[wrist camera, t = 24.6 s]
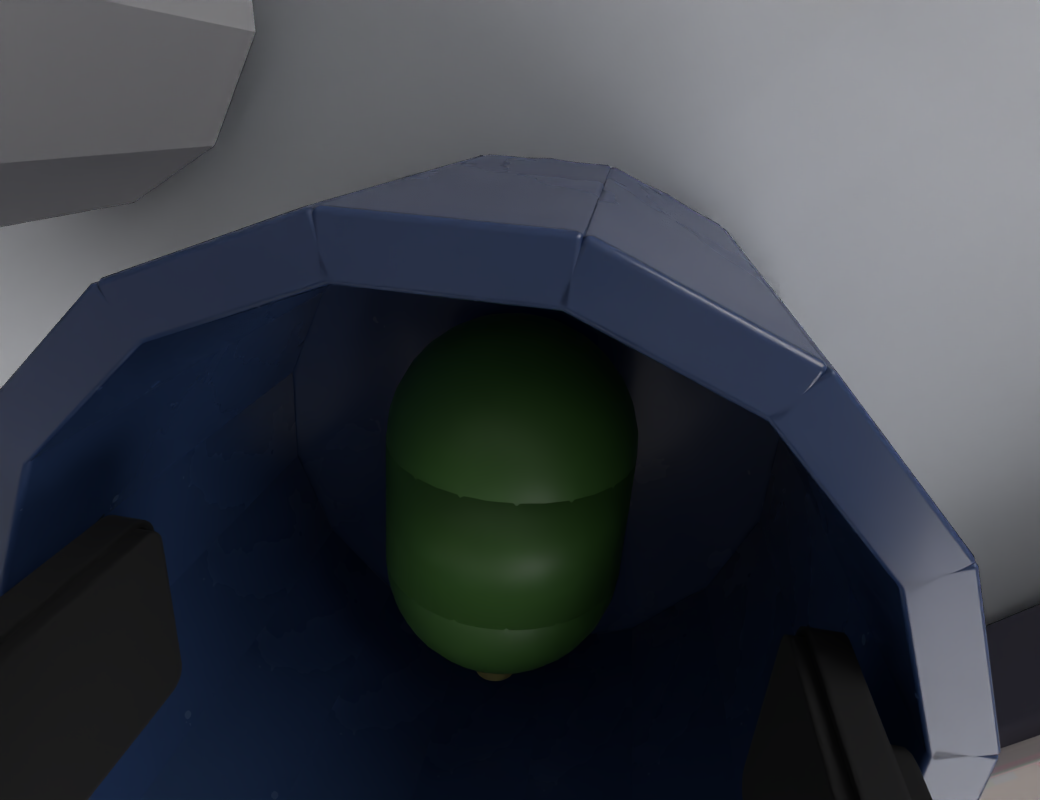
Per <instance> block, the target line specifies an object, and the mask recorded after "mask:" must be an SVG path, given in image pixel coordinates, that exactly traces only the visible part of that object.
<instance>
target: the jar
mask: <svg viewBox="0 0 1040 800" xmlns="http://www.w3.org/2000/svg"><path fill="white" fill-rule="evenodd" d="M255 33H256V30H255V22H254V13H253V5H252V0H0V227H3V226H9V225H14V224H20V223H25V222H31V221H36V220H41V219H47V218H52V217H58V216H63V215H69V214H74V213H79V212H85V211H90V210H96V209H101V208H107V207H112V206H117V205H123V204H128V203H134V202H135V201H137V200H138V199H140V198H141V197H142V196H144V195H145V194H147V193H148V192H149V191H151V190H152V189H154V188H155V187H156V186H158V185H159V184H161V183H162V182H164V181H165V180H166V179H168V178H169V177H171V176H172V175H173V174H175V173H176V172H178V171H179V170H181V169H182V168H183V167H185V166H186V165H188V164H189V163H190V162H192V161H193V160H195V159H196V158H198V157H199V156H200V155H202V154H203V153H205V152H206V151H207V150H209V149H210V148H212V147H213V146H214V145H215V143H216V140H217V137H218V135H219V132H220V129H221V126H222V124H223V121H224V118H225V115H226V113H227V110H228V107H229V104H230V102H231V99H232V96H233V93H234V91H235V88H236V85H237V82H238V79H239V77H240V74H241V71H242V68H243V66H244V63H245V60H246V57H247V55H248V52H249V49H250V46H251V44H252V41H253V38H254V35H255Z"/></svg>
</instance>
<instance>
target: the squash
mask: <svg viewBox="0 0 1040 800" xmlns="http://www.w3.org/2000/svg"><path fill="white" fill-rule="evenodd" d="M637 451H638V428H637V422H636V416H635V411H634V406H633V402H632V399H631V396H630V394H629V391H628V389H627V387H626V384H625V382H624V379H623V378H622V376H621V375H620V374H619V372H618V371H617V369H616V368H615V366H614V365H613V363H612V362H611V361H610V359H609V358H608V357H607V355H606V354H605V353H604V352H603V351H602V350H601V349H600V348H598V347H597V346H596V345H595V344H594V343H593V342H592V341H591V340H590V339H588V338H587V337H586V336H585V335H583V334H581V333H579V332H578V331H576V330H574V329H572V328H570V327H569V326H567V325H565V324H563V323H561V322H559V321H556V320H553V319H550V318H546V317H541V316H536V315H531V314H523V313H500V314H491V315H485V316H481V317H478V318H475V319H473V320H470V321H467V322H464V323H461V324H459V325H457V326H455V327H453V328H451V329H450V330H448V331H447V332H445V333H444V334H442V335H441V336H439V337H438V338H436V339H435V340H433V341H432V342H431V343H430V344H428V345H427V347H426V348H425V349H424V350H423V351H422V352H421V353H420V354H419V355H418V356H417V357H416V358H415V359H414V360H413V361H412V363H411V365H410V366H409V368H408V370H407V371H406V373H405V375H404V376H403V378H402V380H401V381H400V383H399V385H398V386H397V388H396V391H395V394H394V397H393V400H392V403H391V406H390V409H389V416H388V425H387V433H386V564H387V572H388V579H389V583H390V587H391V590H392V594H393V596H394V599H395V601H396V604H397V606H398V609H399V611H400V612H401V614H402V616H403V617H404V619H405V620H406V622H407V624H408V625H409V626H410V627H411V629H412V630H413V631H414V633H415V634H416V635H417V636H418V637H419V638H420V639H421V640H422V641H423V642H424V643H425V644H426V645H427V646H428V647H429V648H431V649H432V650H434V651H435V652H437V653H438V654H440V655H441V656H443V657H444V658H446V659H448V660H449V661H451V662H453V663H455V664H457V665H460V666H462V667H464V668H467V669H471V670H475V671H476V672H477V673H478V675H479V676H481V677H482V678H484V679H486V680H489V681H502V680H505V679H507V678H509V677H510V676H511V675H512V674H515V673H521V672H526V671H531V670H534V669H537V668H539V667H542V666H545V665H547V664H550V663H552V662H554V661H557V660H559V659H560V658H562V657H563V656H565V655H567V654H568V653H570V652H571V651H573V650H574V649H575V648H576V647H577V646H578V645H579V644H580V643H581V642H582V641H583V640H584V639H585V638H586V637H587V636H588V635H589V634H590V633H591V632H592V631H593V630H594V629H595V628H596V626H597V624H598V623H599V621H600V619H601V617H602V616H603V614H604V612H605V611H606V609H607V607H608V605H609V604H610V602H611V600H612V597H613V593H614V590H615V586H616V582H617V579H618V575H619V569H620V563H621V556H622V550H623V543H624V537H625V531H626V524H627V518H628V511H629V505H630V499H631V492H632V486H633V479H634V473H635V467H636V460H637Z"/></svg>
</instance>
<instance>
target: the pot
mask: <svg viewBox="0 0 1040 800" xmlns="http://www.w3.org/2000/svg"><path fill="white" fill-rule="evenodd" d="M500 313H523V314H531V315H536V316H541V317H546V318H550V319H553V320H556V321H559V322H561V323H563V324H565V325H567V326H569V327H570V328H572V329H574V330H576V331H578V332H579V333H581V334H583V335H585V336H586V337H587V338H588V339H590V340H591V341H592V342H593V343H594V344H595V345H596V346H597V347H598V348H600V349H601V350H602V351H603V352H604V353H605V354H606V355H607V357H608V358H609V359H610V361H611V362H612V363H613V365H614V366H615V368H616V369H617V371H618V372H619V374H620V375H621V376H622V378H623V379H624V382H625V384H626V387H627V389H628V391H629V394H630V396H631V399H632V402H633V406H634V411H635V416H636V422H637V428H638V451H637V460H636V467H635V473H634V479H633V486H632V492H631V499H630V505H629V511H628V518H627V524H626V531H625V537H624V543H623V550H622V556H621V563H620V569H619V575H618V579H617V582H616V586H615V590H614V593H613V597H612V600H611V602H610V604H609V605H608V607H607V609H606V611H605V612H604V614H603V616H602V617H601V619H600V621H599V623H598V624H597V626H596V628H595V629H594V630H593V631H592V632H591V633H590V634H589V635H588V636H587V637H586V638H585V639H584V640H583V641H582V642H581V643H580V644H579V645H578V646H577V647H576V648H575V649H574V650H573V651H571V652H570V653H568V654H567V655H565V656H563V657H562V658H560V659H559V660H557V661H554V662H552V663H550V664H547V665H545V666H542V667H539V668H537V669H534V670H531V671H526V672H521V673H515V674H512V675H511V676H510V677H509V678H507V679H505V680H502V681H489V680H486V679H484V678H482V677H481V676H479V675H478V673H477V672H476V671H475V670H471V669H467V668H464V667H462V666H460V665H457V664H455V663H453V662H451V661H449V660H448V659H446V658H444V657H443V656H441V655H440V654H438V653H437V652H435V651H434V650H432V649H431V648H429V647H428V646H427V645H426V644H425V643H424V642H423V641H422V640H421V639H420V638H419V637H418V636H417V635H416V634H415V633H414V631H413V630H412V629H411V627H410V626H409V625H408V624H407V622H406V620H405V619H404V617H403V616H402V614H401V612H400V611H399V609H398V606H397V604H396V601H395V599H394V596H393V594H392V590H391V587H390V583H389V579H388V572H387V564H386V433H387V425H388V416H389V409H390V406H391V403H392V400H393V397H394V394H395V391H396V388H397V386H398V385H399V383H400V381H401V380H402V378H403V376H404V375H405V373H406V371H407V370H408V368H409V366H410V365H411V363H412V361H413V360H414V359H415V358H416V357H417V356H418V355H419V354H420V353H421V352H422V351H423V350H424V349H425V348H426V347H427V345H428V344H430V343H431V342H432V341H433V340H435V339H436V338H438V337H439V336H441V335H442V334H444V333H445V332H447V331H448V330H450V329H451V328H453V327H455V326H457V325H459V324H461V323H464V322H467V321H470V320H473V319H475V318H478V317H481V316H485V315H491V314H500ZM107 515H117V516H124V517H130V518H136V519H142V520H146V521H149V522H150V523H151V524H152V525H153V528H154V531H155V532H158V533H159V534H160V535H161V537H162V541H163V547H164V553H165V559H166V566H167V572H168V578H169V585H170V591H171V597H172V604H173V610H174V617H175V623H176V629H177V636H178V642H179V648H180V655H181V661H182V672H181V676H180V679H179V682H178V684H177V686H176V688H175V689H174V691H173V692H172V693H171V695H170V696H169V697H168V699H167V700H166V701H165V702H164V704H163V705H162V706H161V707H160V709H159V710H158V711H157V713H156V714H155V715H154V716H153V718H152V719H151V720H150V721H149V723H148V724H147V725H146V726H145V728H144V729H143V730H142V732H141V733H140V734H139V735H138V737H137V738H136V739H135V740H134V742H133V743H132V744H131V746H130V747H129V748H128V749H127V751H126V752H125V753H124V754H123V756H122V757H121V758H120V759H119V761H118V762H117V763H116V765H115V766H114V767H113V768H112V770H111V771H110V772H109V773H108V775H107V776H106V777H105V779H104V780H103V781H102V782H101V784H100V785H99V786H98V787H97V789H96V790H95V791H94V793H93V794H92V795H91V796H90V798H89V799H88V800H743V798H742V777H743V770H744V766H745V762H746V759H747V756H748V752H749V749H750V745H751V742H752V738H753V735H754V731H755V728H756V725H757V721H758V718H759V714H760V711H761V707H762V704H763V701H764V697H765V694H766V690H767V687H768V683H769V680H770V676H771V673H772V670H773V666H774V663H775V659H776V656H777V652H778V649H779V646H780V642H781V639H782V637H783V636H784V635H786V634H788V635H794V636H795V634H796V632H797V630H798V629H799V627H801V626H806V627H812V628H818V629H825V630H831V631H837V632H843V633H845V634H846V635H847V636H848V638H849V640H850V642H851V645H852V648H853V650H854V653H855V655H856V658H857V660H858V663H859V665H860V668H861V671H862V673H863V676H864V678H865V681H866V683H867V686H868V689H869V691H870V694H871V696H872V699H873V701H874V704H875V706H876V709H877V712H878V714H879V717H880V719H881V722H882V724H883V727H884V730H885V732H886V735H887V737H888V740H889V742H890V744H891V745H897V746H902V747H905V748H906V749H907V750H908V751H909V752H911V753H912V755H913V757H914V759H915V760H916V762H917V764H918V766H919V768H920V771H921V773H922V776H923V778H924V780H925V783H926V785H927V788H928V790H929V792H930V795H931V797H932V799H933V800H980V798H981V795H982V793H983V791H984V789H985V787H986V785H987V783H988V781H989V779H990V776H991V774H992V772H993V770H994V768H995V766H996V764H997V762H998V754H1000V753H1001V747H1000V739H999V731H998V722H997V714H996V706H995V698H994V690H993V682H992V674H991V665H990V657H989V649H988V641H987V633H986V625H985V616H984V608H983V600H982V592H981V584H980V576H979V568H978V565H977V563H976V562H975V558H974V555H973V554H972V553H971V551H970V550H969V549H968V547H967V546H966V545H965V543H964V542H963V541H962V539H961V538H960V537H959V535H958V534H957V532H956V531H955V530H954V528H953V527H952V526H951V524H950V523H949V522H948V520H947V519H946V518H945V516H944V515H943V514H942V512H941V511H940V510H939V508H938V507H937V506H936V504H935V503H934V502H933V500H932V499H931V498H930V496H929V495H928V494H927V492H926V491H925V489H924V488H923V487H922V485H921V484H920V483H919V481H918V480H917V479H916V477H915V476H914V475H913V473H912V472H911V471H910V469H909V468H908V467H907V465H906V464H905V463H904V461H903V460H902V459H901V457H900V456H899V455H898V453H897V452H896V451H895V449H894V448H893V447H892V445H891V444H890V442H889V441H888V440H887V438H886V437H885V436H884V434H883V433H882V432H881V430H880V429H879V428H878V426H877V425H876V424H875V422H874V421H873V420H872V418H871V417H870V416H869V414H868V413H867V412H866V410H865V409H864V408H863V406H862V405H861V404H860V402H859V401H858V399H857V398H856V397H855V395H854V394H853V393H852V391H851V390H850V389H849V387H848V386H847V385H846V383H845V382H844V381H843V379H842V378H841V377H840V375H839V374H838V373H837V371H836V370H835V369H834V367H833V366H832V365H831V364H830V362H829V361H828V360H827V358H826V357H825V356H824V355H823V353H822V352H821V351H820V350H819V348H818V347H817V346H816V344H815V343H814V342H813V341H812V339H811V338H810V337H809V336H808V334H807V333H806V332H805V330H804V329H803V328H802V327H801V325H800V324H799V323H798V321H797V320H796V319H795V318H794V316H793V315H792V314H791V313H790V311H789V310H788V309H787V307H786V306H785V305H784V304H783V302H782V301H781V300H780V299H779V297H778V296H777V295H776V293H775V292H774V291H773V290H772V288H771V287H770V286H769V284H768V283H767V282H766V281H765V279H764V278H763V277H762V276H761V274H760V273H759V272H758V270H757V269H756V268H755V267H754V265H753V264H752V263H751V262H750V260H749V259H748V258H747V256H746V255H745V254H744V253H743V251H742V250H741V249H740V247H739V246H738V245H737V244H736V242H735V241H734V240H733V239H732V237H731V236H730V235H729V233H728V232H727V231H726V230H725V229H724V228H723V229H722V227H721V226H720V225H719V224H717V223H715V222H713V221H712V220H710V219H708V218H706V217H704V216H703V215H701V214H699V213H697V212H695V211H693V210H692V209H690V208H688V207H687V206H685V205H684V204H682V203H680V202H679V201H677V200H676V199H674V198H673V197H671V196H670V195H668V194H666V193H664V192H662V191H660V190H658V189H656V188H653V187H651V186H649V185H647V184H645V183H643V182H641V181H639V180H637V179H635V178H634V177H632V176H630V175H628V174H626V173H625V172H623V171H621V170H619V169H617V168H614V167H612V168H611V167H610V166H609V165H602V164H591V163H580V162H571V161H565V160H559V159H553V158H523V157H512V156H501V155H490V154H489V155H486V156H483V155H481V156H478V157H474V158H471V159H467V160H464V161H460V162H457V163H453V164H450V165H446V166H443V167H439V168H436V169H432V170H429V171H425V172H422V173H418V174H415V175H412V176H408V177H405V178H401V179H398V180H394V181H391V182H387V183H384V184H380V185H377V186H373V187H370V188H366V189H363V190H359V191H356V192H352V193H349V194H346V195H342V196H339V197H335V198H332V199H328V200H325V201H321V202H318V203H314V204H311V205H307V206H304V207H301V208H298V209H296V210H293V211H290V212H287V213H284V214H281V215H279V216H276V217H273V218H270V219H267V220H264V221H262V222H259V223H256V224H253V225H250V226H247V227H244V228H242V229H239V230H236V231H233V232H230V233H227V234H225V235H222V236H219V237H216V238H213V239H210V240H208V241H205V242H202V243H199V244H196V245H193V246H191V247H188V248H185V249H182V250H179V251H176V252H174V253H171V254H168V255H165V256H162V257H159V258H157V259H154V260H151V261H148V262H145V263H142V264H140V265H137V266H134V267H131V268H128V269H125V270H123V271H120V272H117V273H114V274H111V275H108V276H106V277H103V278H101V280H100V281H98V282H95V283H92V284H91V285H90V286H89V287H88V288H87V289H86V290H85V292H84V293H83V294H82V295H81V296H80V297H79V299H78V300H77V301H76V302H75V303H74V304H73V306H72V307H71V308H70V309H69V310H68V311H67V312H66V314H65V315H64V316H63V317H62V318H61V319H60V321H59V322H58V323H57V324H56V325H55V326H54V328H53V329H52V330H51V331H50V332H49V333H48V334H47V336H46V337H45V338H44V339H43V340H42V341H41V343H40V344H39V345H38V346H37V347H36V348H35V350H34V351H33V352H32V353H31V354H30V355H29V356H28V358H27V359H26V360H25V361H24V362H23V363H22V365H21V366H20V367H19V368H18V369H17V370H16V372H15V373H14V374H13V375H12V376H11V377H10V379H9V380H8V381H7V382H6V383H5V384H4V385H3V387H2V388H1V389H0V597H1V596H2V595H4V594H5V593H6V592H7V591H9V590H10V589H11V588H13V587H14V586H15V585H16V584H18V583H19V582H20V581H22V580H23V579H24V578H25V577H27V576H28V575H29V574H31V573H32V572H33V571H34V570H36V569H37V568H38V567H40V566H41V565H42V564H43V563H45V562H46V561H47V560H48V559H50V558H51V557H52V556H54V555H55V554H56V553H57V552H59V551H60V550H61V549H63V548H64V547H65V546H66V545H68V544H69V543H70V542H72V541H73V540H74V539H75V538H77V537H78V536H79V535H81V534H82V533H83V532H84V531H86V530H87V529H88V528H90V527H91V526H92V525H93V524H95V523H96V522H97V521H99V520H100V519H101V518H103V517H105V516H107Z"/></svg>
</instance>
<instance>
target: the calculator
mask: <svg viewBox="0 0 1040 800" xmlns="http://www.w3.org/2000/svg"><path fill="white" fill-rule="evenodd" d="M986 633H987V641H988V649H989V657H990V665H991V674H992V682H993V690H994V698H995V706H996V714H997V722H998V731H999V739H1000V747H1001V753H1000V754H998V762H997V764H996V766H995V768H994V770H993V772H992V774H991V776H990V779H989V781H988V783H987V785H986V787H985V789H984V791H983V793H982V795H981V798H980V800H1040V604H1038V605H1036V606H1034V607H1031V608H1029V609H1026V610H1024V611H1022V612H1019V613H1017V614H1014V615H1012V616H1010V617H1007V618H1005V619H1002V620H1000V621H998V622H995V623H993V624H991V625H988V626H986Z"/></svg>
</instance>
